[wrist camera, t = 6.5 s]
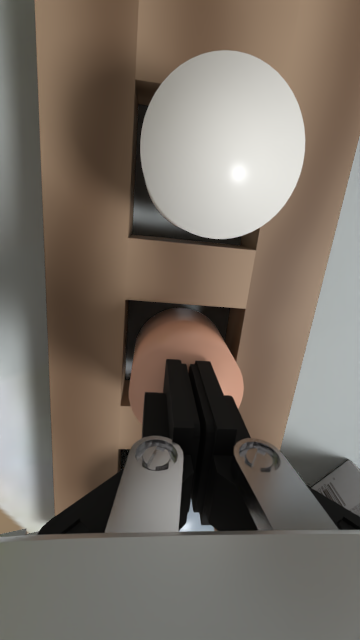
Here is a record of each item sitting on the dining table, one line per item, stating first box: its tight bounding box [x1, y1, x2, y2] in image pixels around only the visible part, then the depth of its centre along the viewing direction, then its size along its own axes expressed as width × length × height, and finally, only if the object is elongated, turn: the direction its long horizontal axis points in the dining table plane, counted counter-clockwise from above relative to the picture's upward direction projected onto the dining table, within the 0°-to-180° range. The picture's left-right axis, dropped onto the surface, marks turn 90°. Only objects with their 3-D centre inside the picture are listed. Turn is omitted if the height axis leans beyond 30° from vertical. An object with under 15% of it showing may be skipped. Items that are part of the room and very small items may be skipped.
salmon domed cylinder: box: [129, 308, 244, 424], centre depth 13 cm, size 4×4×4 cm
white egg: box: [140, 50, 305, 239], centre depth 10 cm, size 4×4×4 cm
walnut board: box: [35, 0, 360, 531], centre depth 15 cm, size 12×28×2 cm, turn 174°
